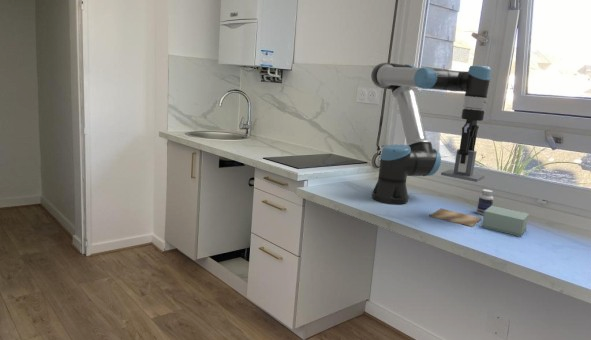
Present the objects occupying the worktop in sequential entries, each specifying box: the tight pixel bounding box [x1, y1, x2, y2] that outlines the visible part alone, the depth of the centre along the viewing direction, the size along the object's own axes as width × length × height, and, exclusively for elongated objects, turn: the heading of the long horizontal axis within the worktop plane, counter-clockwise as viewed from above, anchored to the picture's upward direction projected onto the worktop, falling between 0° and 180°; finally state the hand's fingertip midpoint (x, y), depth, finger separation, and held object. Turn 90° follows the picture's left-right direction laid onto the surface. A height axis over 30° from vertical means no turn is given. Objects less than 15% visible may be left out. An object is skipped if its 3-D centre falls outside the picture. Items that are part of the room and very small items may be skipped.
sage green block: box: [480, 205, 529, 237], centre depth 160 cm, size 13×11×6 cm
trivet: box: [429, 208, 483, 228], centre depth 168 cm, size 16×14×1 cm
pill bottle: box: [476, 188, 494, 216], centre depth 177 cm, size 5×5×10 cm
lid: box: [440, 148, 485, 183], centre depth 164 cm, size 13×11×10 cm
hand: (463, 171), depth 165 cm, fingers closed on lid, 4 cm apart
